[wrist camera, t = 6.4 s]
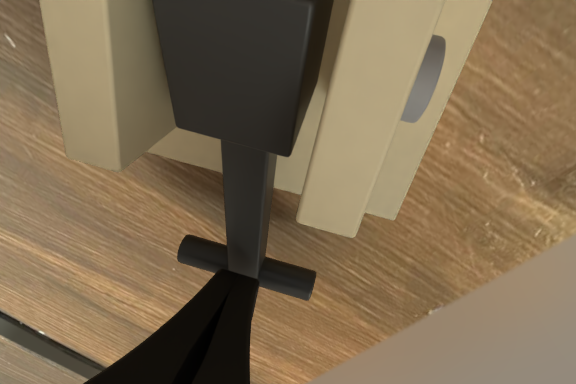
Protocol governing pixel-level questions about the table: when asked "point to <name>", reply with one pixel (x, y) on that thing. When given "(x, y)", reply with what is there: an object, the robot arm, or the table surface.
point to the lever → (244, 113)
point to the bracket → (320, 114)
